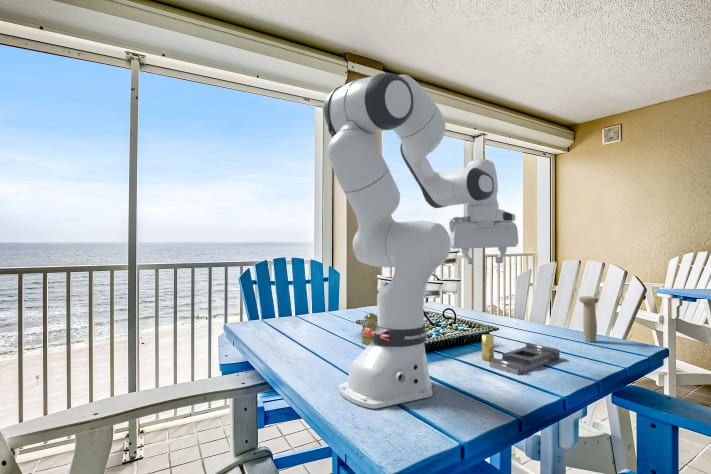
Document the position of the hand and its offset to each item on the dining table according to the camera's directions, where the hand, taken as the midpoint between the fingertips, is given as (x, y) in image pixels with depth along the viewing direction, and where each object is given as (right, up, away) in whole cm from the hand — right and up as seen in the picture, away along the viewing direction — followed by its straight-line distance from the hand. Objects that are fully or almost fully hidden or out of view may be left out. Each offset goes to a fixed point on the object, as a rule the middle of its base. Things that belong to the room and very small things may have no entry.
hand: (484, 263), depth 105 cm
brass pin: (+1, -28, -1) cm, 28 cm away
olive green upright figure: (-32, -29, +22) cm, 48 cm away
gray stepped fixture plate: (+8, -28, -5) cm, 29 cm away
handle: (+43, -28, +18) cm, 54 cm away
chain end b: (+13, -28, -2) cm, 31 cm away
